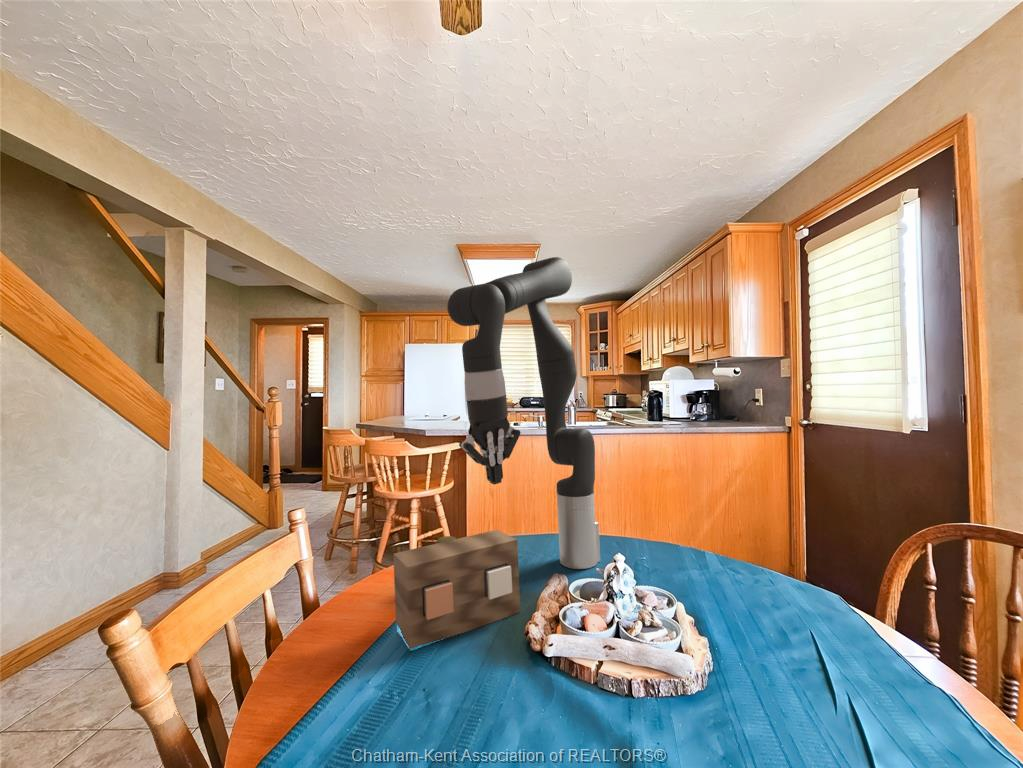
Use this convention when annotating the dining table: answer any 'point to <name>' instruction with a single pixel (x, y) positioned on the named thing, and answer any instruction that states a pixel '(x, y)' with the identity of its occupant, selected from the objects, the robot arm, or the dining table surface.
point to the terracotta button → (437, 599)
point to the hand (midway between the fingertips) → (495, 482)
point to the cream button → (498, 581)
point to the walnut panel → (454, 585)
